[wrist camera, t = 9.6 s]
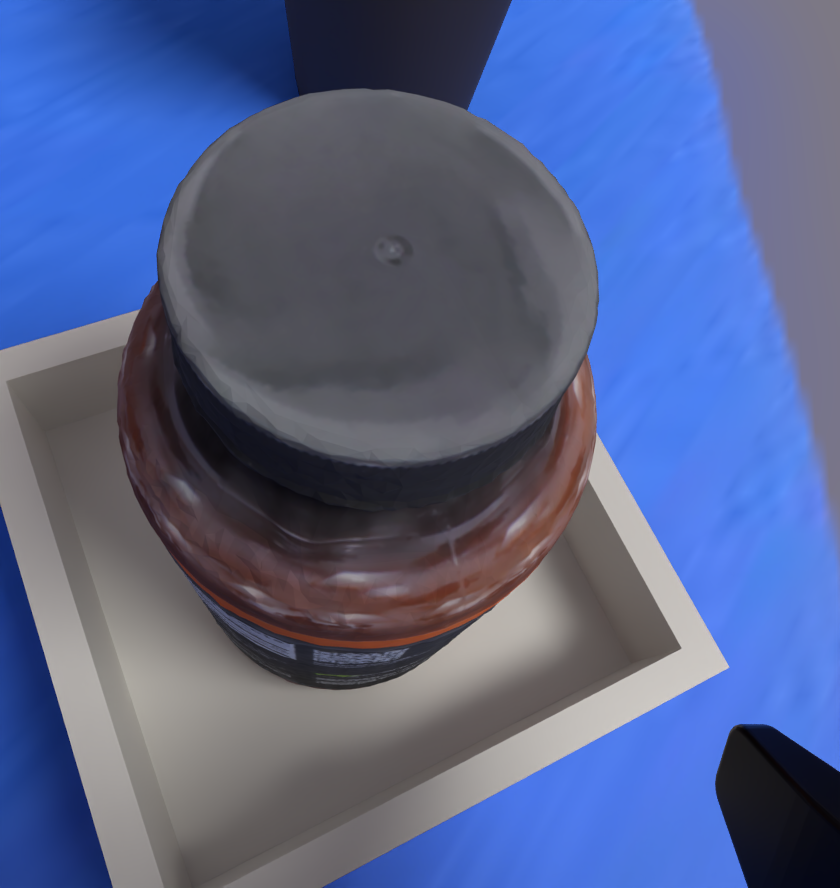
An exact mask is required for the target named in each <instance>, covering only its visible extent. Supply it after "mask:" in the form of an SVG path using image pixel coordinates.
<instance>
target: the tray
mask: <svg viewBox="0 0 840 888" xmlns="http://www.w3.org/2000/svg"><path fill="white" fill-rule="evenodd" d="M139 311H140V310H136V311H133V312H130V313H126V314H123V315H119V316H116V317H113V318H109V319H106V320H102V321H99V322H95V323H92V324H89V325H85V326H82V327H78V328H75V329H72V330H68V331H65V332H61V333H58V334H54V335H51V336H48V337H44V338H41V339H37V340H34V341H31V342H27V343H24V344H20V345H17V346H13V347H10V348H7V349H3V350H0V505H1V508H2V511H3V515H4V518H5V522H6V525H7V528H8V532H9V535H10V539H11V542H12V546H13V549H14V552H15V556H16V559H17V563H18V566H19V569H20V573H21V576H22V580H23V583H24V586H25V590H26V593H27V597H28V600H29V603H30V607H31V610H32V614H33V617H34V620H35V624H36V627H37V631H38V634H39V637H40V641H41V644H42V648H43V651H44V654H45V658H46V661H47V665H48V668H49V672H50V675H51V678H52V682H53V685H54V689H55V692H56V695H57V699H58V702H59V706H60V709H61V712H62V716H63V719H64V723H65V726H66V729H67V733H68V736H69V740H70V743H71V746H72V750H73V753H74V757H75V760H76V763H77V767H78V770H79V774H80V777H81V780H82V784H83V787H84V791H85V794H86V797H87V801H88V804H89V808H90V811H91V815H92V818H93V821H94V825H95V828H96V832H97V835H98V838H99V842H100V845H101V849H102V852H103V855H104V859H105V862H106V866H107V869H108V872H109V876H110V879H111V883H112V886H113V888H322V887H324V886H325V885H327V884H329V883H331V882H333V881H335V880H337V879H338V878H340V877H342V876H344V875H346V874H348V873H350V872H351V871H353V870H355V869H357V868H359V867H361V866H362V865H364V864H366V863H368V862H370V861H372V860H374V859H375V858H377V857H379V856H381V855H383V854H385V853H387V852H388V851H390V850H392V849H394V848H396V847H398V846H400V845H401V844H403V843H405V842H407V841H409V840H411V839H413V838H414V837H416V836H418V835H420V834H422V833H424V832H425V831H427V830H429V829H431V828H433V827H435V826H437V825H438V824H440V823H442V822H444V821H446V820H448V819H450V818H451V817H453V816H455V815H457V814H459V813H461V812H463V811H464V810H466V809H468V808H470V807H472V806H474V805H475V804H477V803H479V802H481V801H483V800H485V799H487V798H488V797H490V796H492V795H494V794H496V793H498V792H500V791H501V790H503V789H505V788H507V787H509V786H511V785H513V784H514V783H516V782H518V781H520V780H522V779H524V778H526V777H527V776H529V775H531V774H533V773H535V772H537V771H538V770H540V769H542V768H544V767H546V766H548V765H550V764H551V763H553V762H555V761H557V760H559V759H561V758H563V757H564V756H566V755H568V754H570V753H572V752H574V751H576V750H577V749H579V748H581V747H583V746H585V745H587V744H589V743H590V742H592V741H594V740H596V739H598V738H600V737H601V736H603V735H605V734H607V733H609V732H611V731H613V730H614V729H616V728H618V727H620V726H622V725H624V724H626V723H627V722H629V721H631V720H633V719H635V718H637V717H639V716H640V715H642V714H644V713H646V712H648V711H650V710H651V709H653V708H655V707H657V706H659V705H661V704H663V703H664V702H666V701H668V700H670V699H672V698H674V697H676V696H677V695H679V694H681V693H683V692H685V691H687V690H689V689H690V688H692V687H694V686H696V685H698V684H700V683H702V682H703V681H705V680H707V679H709V678H711V677H713V676H714V675H716V674H718V673H720V672H722V671H724V670H726V669H727V668H729V666H728V664H727V662H726V660H725V659H724V657H723V655H722V653H721V652H720V650H719V648H718V646H717V645H716V643H715V641H714V639H713V637H712V636H711V634H710V632H709V630H708V629H707V627H706V625H705V623H704V622H703V620H702V618H701V616H700V615H699V613H698V611H697V609H696V607H695V606H694V604H693V602H692V600H691V599H690V597H689V595H688V593H687V592H686V590H685V588H684V586H683V585H682V583H681V581H680V579H679V577H678V576H677V574H676V572H675V570H674V569H673V567H672V565H671V563H670V562H669V560H668V558H667V556H666V554H665V553H664V551H663V549H662V547H661V546H660V544H659V542H658V540H657V539H656V537H655V535H654V533H653V532H652V530H651V528H650V526H649V524H648V523H647V521H646V519H645V517H644V516H643V514H642V512H641V510H640V509H639V507H638V505H637V503H636V502H635V500H634V498H633V496H632V494H631V493H630V491H629V489H628V487H627V486H626V484H625V482H624V480H623V479H622V477H621V475H620V473H619V471H618V470H617V468H616V466H615V464H614V463H613V461H612V459H611V457H610V456H609V454H608V452H607V450H606V449H605V447H604V445H603V443H602V441H601V440H600V438H599V436H598V434H597V433H596V443H595V448H594V454H593V459H592V463H591V468H590V473H589V477H588V481H587V483H586V486H585V488H584V491H583V493H582V496H581V498H580V501H579V503H578V505H577V507H576V509H575V511H574V513H573V515H572V517H571V519H570V521H569V523H568V525H567V527H566V528H565V530H564V531H563V533H562V534H561V535H560V537H559V538H558V540H557V541H556V543H555V544H554V546H553V547H552V549H551V550H550V551H549V552H548V554H547V555H546V556H545V557H544V558H543V560H542V561H541V563H540V565H539V566H538V567H537V568H536V569H535V570H534V571H533V572H532V573H531V574H530V576H529V577H528V578H527V579H526V580H525V581H524V582H522V583H521V584H520V585H519V586H518V587H517V588H515V589H514V590H513V591H512V592H511V593H510V594H509V595H508V596H506V597H505V598H504V599H503V600H501V601H500V602H499V603H498V604H497V605H496V606H495V607H494V608H493V609H492V610H491V611H489V612H488V613H486V614H484V615H483V616H482V617H481V618H480V619H478V620H477V621H476V622H474V623H473V624H472V625H471V626H469V627H468V628H467V629H465V630H464V631H463V632H462V633H460V634H459V635H458V636H457V637H456V638H454V639H453V640H452V641H451V642H450V643H449V644H448V645H446V646H445V647H443V648H442V649H441V650H439V651H438V652H436V653H435V654H434V655H433V656H431V657H430V658H429V659H428V660H426V661H425V662H423V663H422V664H420V665H419V666H417V667H416V668H415V669H413V670H411V671H409V672H407V673H406V674H404V675H402V676H400V677H398V678H395V679H392V680H389V681H387V682H384V683H379V684H376V685H373V686H370V687H363V688H358V689H350V690H330V689H318V688H312V687H308V686H304V685H297V684H294V683H291V682H288V681H286V680H285V679H283V678H281V677H279V676H277V675H275V674H272V673H271V672H269V671H267V670H265V669H263V668H262V667H260V666H259V665H258V664H256V663H255V662H253V661H252V660H251V659H250V658H249V657H247V656H246V655H245V654H244V653H243V652H242V651H241V650H240V649H238V647H237V646H235V645H234V643H233V642H232V641H231V640H230V639H229V638H228V636H227V635H226V634H225V633H224V631H223V630H222V628H221V627H220V626H219V625H218V624H217V622H216V620H215V619H214V617H213V616H212V614H211V613H210V611H209V610H208V608H207V607H206V606H205V604H204V603H203V601H202V600H201V598H200V597H199V595H198V594H197V592H196V591H195V590H194V588H193V586H192V585H191V583H190V582H189V580H188V579H187V578H186V576H185V575H184V573H183V572H182V571H181V569H180V568H179V567H178V565H177V564H176V563H175V561H174V560H173V558H172V557H171V555H170V554H169V552H168V550H167V549H166V547H165V546H164V544H163V543H162V541H161V539H160V538H159V536H158V535H157V534H156V532H155V531H154V529H153V528H152V527H151V525H150V523H149V522H148V520H147V518H146V516H145V514H144V512H143V511H142V509H141V507H140V505H139V503H138V501H137V499H136V497H135V495H134V491H133V488H132V486H131V483H130V481H129V478H128V476H127V471H126V465H125V462H124V458H123V454H122V450H121V446H120V441H119V426H118V423H117V399H118V385H117V383H118V376H119V371H120V369H121V365H122V354H123V349H124V347H125V346H126V344H127V342H128V338H129V335H130V332H131V330H132V327H133V323H134V321H135V319H136V317H137V315H138V313H139Z"/></svg>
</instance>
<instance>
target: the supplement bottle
mask: <svg viewBox="0 0 840 888" xmlns="http://www.w3.org/2000/svg"><path fill="white" fill-rule="evenodd" d="M157 271H158V281H157V282H156V284H155V285H153V286H152V288H151V291H150V294H149V295H148V296H147V297H146V298H145V299H144V302H143V305H142V308H141V309H140V311H139V313H138V315H137V317H136V319H135V321H134V323H133V327H132V330H131V332H130V335H129V338H128V342H127V344H126V346H125V347H124V349H123V354H122V365H121V369H120V371H119V376H118V383H117V385H118V399H117V423H118V426H119V441H120V446H121V450H122V454H123V458H124V462H125V465H126V471H127V476H128V478H129V481H130V483H131V486H132V488H133V491H134V495H135V497H136V499H137V501H138V503H139V505H140V507H141V509H142V511H143V512H144V514H145V516H146V518H147V520H148V522H149V523H150V525H151V527H152V528H153V529H154V531H155V532H156V534H157V535H158V536H159V538H160V539H161V541H162V543H163V544H164V546H165V547H166V549H167V550H168V552H169V554H170V555H171V557H172V558H173V560H174V561H175V563H176V564H177V565H178V567H179V568H180V569H181V571H182V572H183V573H184V575H185V576H186V578H187V579H188V580H189V582H190V583H191V585H192V586H193V588H194V590H195V591H196V592H197V594H198V595H199V597H200V598H201V600H202V601H203V603H204V604H205V606H206V607H207V608H208V610H209V611H210V613H211V614H212V616H213V617H214V619H215V620H216V622H217V624H218V625H219V626H220V627H221V628H222V630H223V631H224V633H225V634H226V635H227V636H228V638H229V639H230V640H231V641H232V642H233V643H234V645H235V646H237V647H238V649H240V650H241V651H242V652H243V653H244V654H245V655H246V656H247V657H249V658H250V659H251V660H252V661H253V662H255V663H256V664H258V665H259V666H260V667H262V668H263V669H265V670H267V671H269V672H271V673H272V674H275V675H277V676H279V677H281V678H283V679H285V680H286V681H288V682H291V683H294V684H297V685H304V686H308V687H312V688H318V689H330V690H350V689H358V688H363V687H370V686H373V685H376V684H379V683H384V682H387V681H389V680H392V679H395V678H398V677H400V676H402V675H404V674H406V673H407V672H409V671H411V670H413V669H415V668H416V667H417V666H419V665H420V664H422V663H423V662H425V661H426V660H428V659H429V658H430V657H431V656H433V655H434V654H435V653H436V652H438V651H439V650H441V649H442V648H443V647H445V646H446V645H448V644H449V643H450V642H451V641H452V640H453V639H454V638H456V637H457V636H458V635H459V634H460V633H462V632H463V631H464V630H465V629H467V628H468V627H469V626H471V625H472V624H473V623H474V622H476V621H477V620H478V619H480V618H481V617H482V616H483V615H484V614H486V613H488V612H489V611H491V610H492V609H493V608H494V607H495V606H496V605H497V604H498V603H499V602H500V601H501V600H503V599H504V598H505V597H506V596H508V595H509V594H510V593H511V592H512V591H513V590H514V589H515V588H517V587H518V586H519V585H520V584H521V583H522V582H524V581H525V580H526V579H527V578H528V577H529V576H530V574H531V573H532V572H533V571H534V570H535V569H536V568H537V567H538V566H539V565H540V563H541V561H542V560H543V558H544V557H545V556H546V555H547V554H548V552H549V551H550V550H551V549H552V547H553V546H554V544H555V543H556V541H557V540H558V538H559V537H560V535H561V534H562V533H563V531H564V530H565V528H566V527H567V525H568V523H569V521H570V519H571V517H572V515H573V513H574V511H575V509H576V507H577V505H578V503H579V501H580V498H581V496H582V493H583V491H584V488H585V486H586V483H587V481H588V477H589V473H590V468H591V463H592V459H593V454H594V448H595V443H596V423H597V412H596V396H595V390H594V381H593V376H592V371H591V367H590V362H589V358H588V355H587V351H588V348H589V345H590V342H591V339H592V336H593V332H594V329H595V326H596V322H597V315H598V310H597V307H598V303H599V291H598V271H597V266H596V261H595V255H594V250H593V247H592V243H591V240H590V238H589V235H588V232H587V230H586V228H585V226H584V223H583V221H582V219H581V216H580V213H579V211H578V209H577V207H576V206H575V204H574V203H573V201H572V200H571V199H570V198H569V196H568V195H567V193H566V191H565V189H564V188H563V187H562V186H561V185H560V184H559V183H558V181H557V179H556V178H555V177H554V176H553V175H552V174H551V173H550V172H549V171H548V170H547V168H546V167H545V166H544V164H543V163H542V162H541V161H540V160H538V159H537V158H536V157H534V156H533V155H532V154H531V153H530V152H529V151H528V149H527V148H526V147H525V146H524V145H523V144H522V143H520V142H519V141H517V140H516V139H514V138H513V137H511V136H510V135H508V134H507V133H505V132H504V131H502V130H501V129H499V128H498V127H496V126H495V125H493V124H492V123H490V122H489V121H487V120H485V119H482V118H479V117H476V116H475V115H473V114H471V113H470V112H468V111H467V110H465V109H463V108H460V107H458V106H455V105H452V104H450V103H447V102H444V101H440V100H436V99H432V98H428V97H425V96H421V95H416V94H411V93H405V92H400V91H395V90H389V89H386V90H371V89H365V88H364V89H342V90H332V91H326V92H318V93H309V94H306V95H303V96H299V97H296V98H293V99H290V100H287V101H284V102H282V103H279V104H277V105H274V106H271V107H269V108H266V109H264V110H262V111H261V112H259V113H256V114H254V115H252V116H250V117H248V118H247V119H245V120H243V121H242V122H240V123H238V124H237V125H235V126H233V127H231V128H229V129H228V130H227V131H226V132H225V133H224V134H222V135H221V136H220V137H219V138H218V139H217V140H216V141H214V142H213V143H212V144H211V145H210V146H209V147H208V148H207V149H206V150H205V151H204V152H203V154H202V155H201V156H200V157H199V158H198V160H197V161H196V162H195V163H194V165H193V166H192V167H191V169H190V170H189V172H188V174H187V175H186V177H185V178H184V179H183V180H182V181H181V182H180V183H179V185H178V187H177V189H176V191H175V193H174V196H173V198H172V199H171V201H170V204H169V207H168V209H167V212H166V215H165V218H164V221H163V225H162V230H161V234H160V239H159V245H158V250H157Z"/></svg>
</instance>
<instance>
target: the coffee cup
mask: <svg viewBox="0 0 840 888" xmlns="http://www.w3.org/2000/svg"><path fill="white" fill-rule="evenodd" d="M511 1H512V0H285V7H286V14H287V21H288V28H289V35H290V42H291V49H292V56H293V63H294V70H295V77H296V82H297V86H298V91H299V95H300V96H303V95H306V94H309V93H318V92H326V91H332V90H342V89H364V88H365V89H371V90H386V89H389V90H395V91H400V92H405V93H411V94H416V95H421V96H425V97H428V98H432V99H436V100H440V101H444V102H447V103H450V104H452V105H455V106H458V107H460V108H463V109H465V110H467V109H468V107H469V104H470V102H471V99H472V97H473V94H474V92H475V90H476V87H477V85H478V82H479V80H480V77H481V75H482V72H483V70H484V67H485V65H486V62H487V60H488V58H489V55H490V53H491V50H492V48H493V45H494V43H495V40H496V38H497V35H498V33H499V31H500V28H501V26H502V23H503V21H504V18H505V16H506V13H507V11H508V8H509V6H510V3H511Z"/></svg>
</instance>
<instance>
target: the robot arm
mask: <svg viewBox="0 0 840 888" xmlns="http://www.w3.org/2000/svg"><path fill="white" fill-rule="evenodd" d="M715 787H716V794H717V799H718V802H719V805H720V808H721V811H722V814H723V816H724V819H725V822H726V825H727V828H728V831H729V834H730V837H731V840H732V843H733V845H734V848H735V851H736V854H737V857H738V860H739V863H740V866H741V869H742V872H743V874H744V877H745V880H746V883H747V886H748V888H840V772H839V771H837V770H836V769H835V768H833V767H832V766H830V765H829V764H827V763H826V762H824V761H823V760H821V759H820V758H818V757H817V756H815V755H814V754H812V753H811V752H809V751H808V750H806V749H805V748H803V747H802V746H800V745H799V744H797V743H796V742H794V741H793V740H791V739H790V738H788V737H787V736H785V735H784V734H782V733H781V732H779V731H778V730H776V729H775V728H773V727H771V726H769V725H764V724H739V725H736V726H734V727H733V728H732V730H731V731H730V733H729V736H728V739H727V742H726V745H725V748H724V752H723V755H722V758H721V761H720V764H719V768H718V771H717V774H716V781H715Z"/></svg>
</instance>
